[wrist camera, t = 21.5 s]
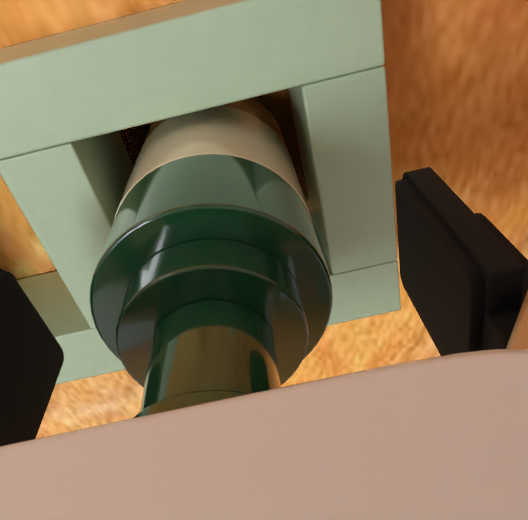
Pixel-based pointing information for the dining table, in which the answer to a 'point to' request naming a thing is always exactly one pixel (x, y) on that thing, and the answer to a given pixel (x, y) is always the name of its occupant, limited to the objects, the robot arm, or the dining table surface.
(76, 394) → the dining table surface
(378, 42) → the rack
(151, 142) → the bottle
